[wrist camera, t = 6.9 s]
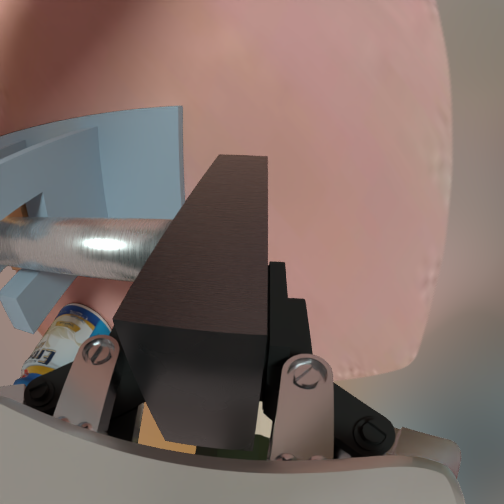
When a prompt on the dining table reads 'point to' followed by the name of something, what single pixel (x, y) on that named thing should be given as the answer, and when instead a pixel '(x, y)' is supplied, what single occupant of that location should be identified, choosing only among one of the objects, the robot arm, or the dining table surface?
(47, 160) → the bearing block
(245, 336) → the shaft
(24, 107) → the dining table surface
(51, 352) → the beverage bottle
